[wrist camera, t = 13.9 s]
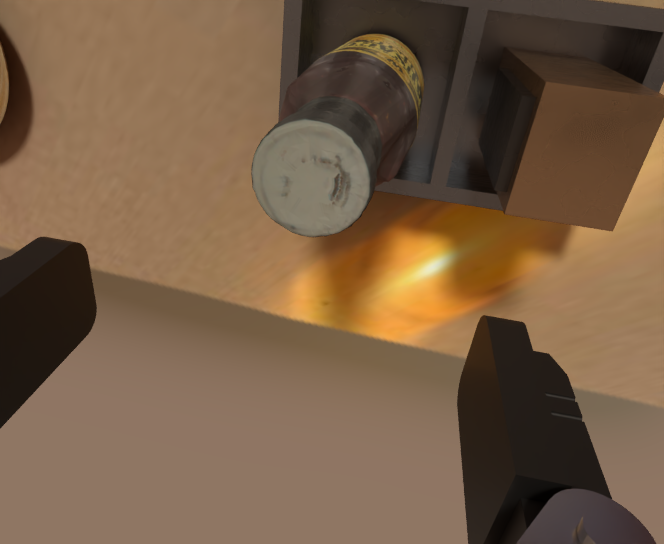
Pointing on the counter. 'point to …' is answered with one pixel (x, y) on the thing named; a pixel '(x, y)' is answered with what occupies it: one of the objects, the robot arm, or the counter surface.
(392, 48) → the sauce bottle
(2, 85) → the plant saucer
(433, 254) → the counter surface
